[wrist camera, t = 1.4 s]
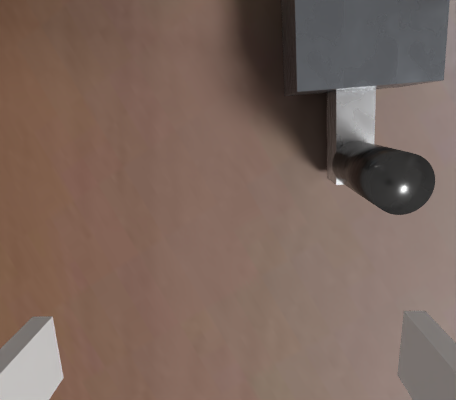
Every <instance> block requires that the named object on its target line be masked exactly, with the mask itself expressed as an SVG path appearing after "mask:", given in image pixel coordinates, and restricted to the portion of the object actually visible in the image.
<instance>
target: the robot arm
mask: <svg viewBox="0 0 456 400" xmlns="http://www.w3.org/2000/svg"><path fill="white" fill-rule="evenodd" d="M398 376H399V378H400V380H401V381H402V383H403V385H404V386H405V388H406V389H407V391H408V393H409V394H410V396H411V398H412V399H413V400H456V343H455V342H454V341H453V340H452V338H451V337H450V336H449V335H448V334H447V333H446V332H445V331H444V330H443V329H442V328H441V327H440V326H439V325H438V324H437V323H436V322H435V321H434V320H433V318H432V317H431V316H430V315H429V314H428V313H427V312H426V311H404V315H403V325H402V335H401V345H400V355H399V365H398ZM62 379H63V373H62V367H61V361H60V356H59V350H58V345H57V339H56V333H55V328H54V322H53V317H32V318H31V319H30V320H29V321H28V322H27V323H26V324H25V325H24V326H23V327H22V328H21V329H20V330H19V331H18V332H17V333H16V334H15V335H14V336H13V337H12V338H11V339H10V340H9V341H8V342H7V343H6V344H5V345H4V346H3V347H2V348H1V349H0V400H49V399H50V397H51V396H52V394H53V393H54V391H55V390H56V388H57V387H58V385H59V384H60V382H61V381H62Z"/></svg>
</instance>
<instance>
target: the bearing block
mask: <svg viewBox="0 0 456 400" xmlns="http://www.w3.org/2000/svg"><path fill="white" fill-rule="evenodd" d="M281 8H282V37H283V67H284V96H293V95H306V94H318V93H327V92H328V91H333V90H345V89H357V88H370V87H376V89H381V88H394V87H403V86H409V85H416V84H422V83H429V82H435V81H442V80H444V68H445V54H446V41H447V27H448V14H449V0H281Z"/></svg>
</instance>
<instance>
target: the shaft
mask: <svg viewBox="0 0 456 400" xmlns="http://www.w3.org/2000/svg"><path fill="white" fill-rule="evenodd" d="M375 98H376V87H370V88H357V89H345V90H333V91H328V92H327V179H329V180H330V181H332V182H333V183H334V184H336V185H343V184H345V185H346V186H348V187H349V188H351V189H352V190H353V191H355V192H356V193H358V194H359V195H361V196H362V197H364V198H365V199H367V200H368V201H370V202H371V203H373V204H374V205H376V206H377V207H379V208H380V209H382V210H383V211H385V212H387V213H390V214H395V215H403V214H408V213H411V212H414V211H416V210H417V209H419V208H420V207H422V206H423V205H424V204H425V203H426V202H427V201H428V199H429V198H430V196H431V194H432V192H433V190H434V186H435V175H434V171H433V169H432V167H431V165H430V163H429V162H428V161H427V160H426V159H424V158H423V157H421V156H419V155H417V154H413V153H409V152H405V151H401V150H396V149H392V148H388V147H383V146H379V145H375V144H374V133H375Z"/></svg>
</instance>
